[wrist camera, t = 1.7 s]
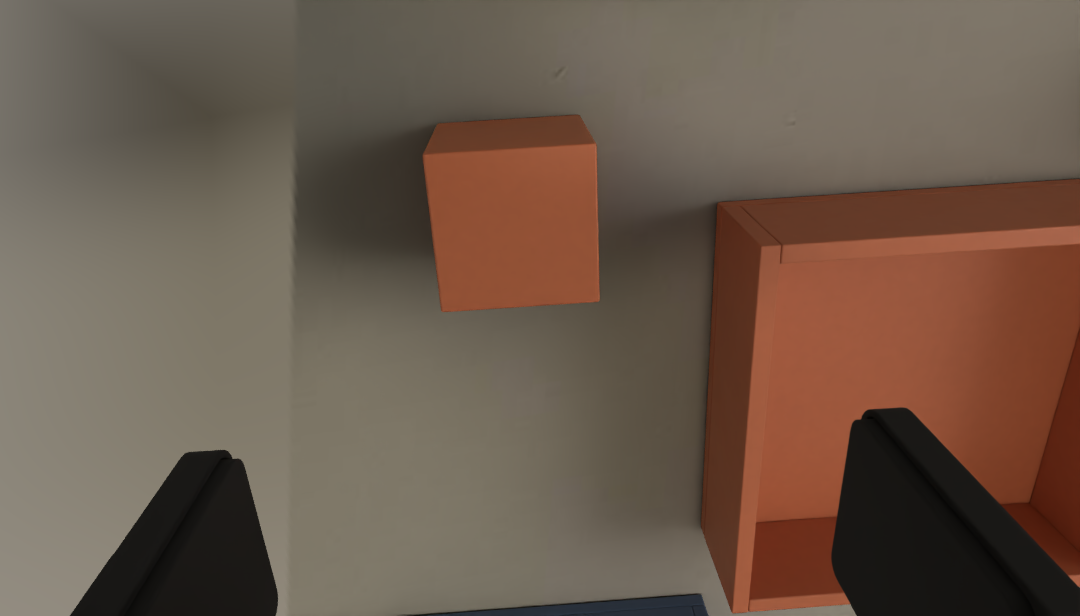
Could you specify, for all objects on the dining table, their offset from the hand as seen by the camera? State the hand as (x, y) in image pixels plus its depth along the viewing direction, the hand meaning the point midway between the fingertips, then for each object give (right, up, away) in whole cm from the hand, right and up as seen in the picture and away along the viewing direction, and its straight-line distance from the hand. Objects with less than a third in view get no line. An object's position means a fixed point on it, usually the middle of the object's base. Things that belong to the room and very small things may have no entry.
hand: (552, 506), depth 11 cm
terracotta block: (-1, +7, +13) cm, 15 cm away
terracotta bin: (+13, +1, +16) cm, 21 cm away
